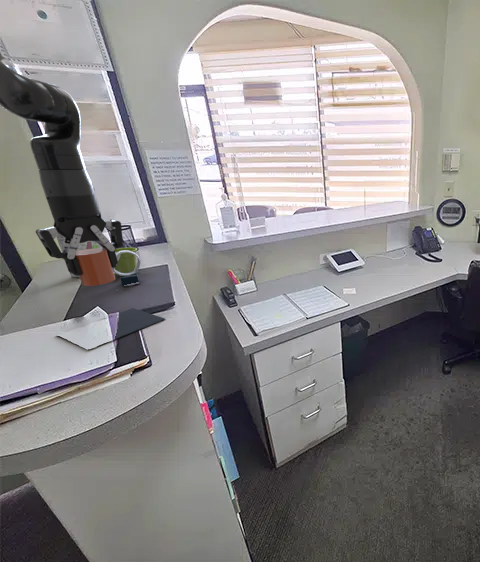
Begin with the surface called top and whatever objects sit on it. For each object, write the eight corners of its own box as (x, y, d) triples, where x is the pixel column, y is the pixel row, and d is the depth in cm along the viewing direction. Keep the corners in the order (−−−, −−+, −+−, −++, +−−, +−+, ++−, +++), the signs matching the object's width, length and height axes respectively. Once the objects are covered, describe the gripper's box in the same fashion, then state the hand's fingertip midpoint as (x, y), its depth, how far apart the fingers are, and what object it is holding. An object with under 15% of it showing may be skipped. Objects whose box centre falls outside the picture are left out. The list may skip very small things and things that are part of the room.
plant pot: (104, 276, 108) (96, 252, 105) (132, 268, 117) (126, 246, 114) (121, 279, 105) (114, 255, 102) (149, 271, 113) (143, 248, 110)
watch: (115, 283, 102) (105, 251, 98) (145, 278, 106) (137, 247, 102) (115, 288, 97) (104, 255, 94) (146, 283, 102) (137, 251, 98)
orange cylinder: (90, 287, 66) (80, 256, 64) (76, 283, 69) (66, 252, 66) (120, 279, 71) (112, 250, 69) (107, 275, 74) (98, 247, 71)
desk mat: (88, 351, 64) (87, 349, 64) (55, 335, 70) (55, 334, 70) (165, 319, 78) (165, 318, 78) (133, 309, 84) (133, 307, 83)
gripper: (102, 190, 71) (122, 260, 77) (12, 194, 59) (44, 278, 65) (120, 191, 68) (140, 264, 74) (30, 196, 56) (62, 283, 61)
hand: (95, 270), depth 69 cm, fingers closed on orange cylinder, 6 cm apart
